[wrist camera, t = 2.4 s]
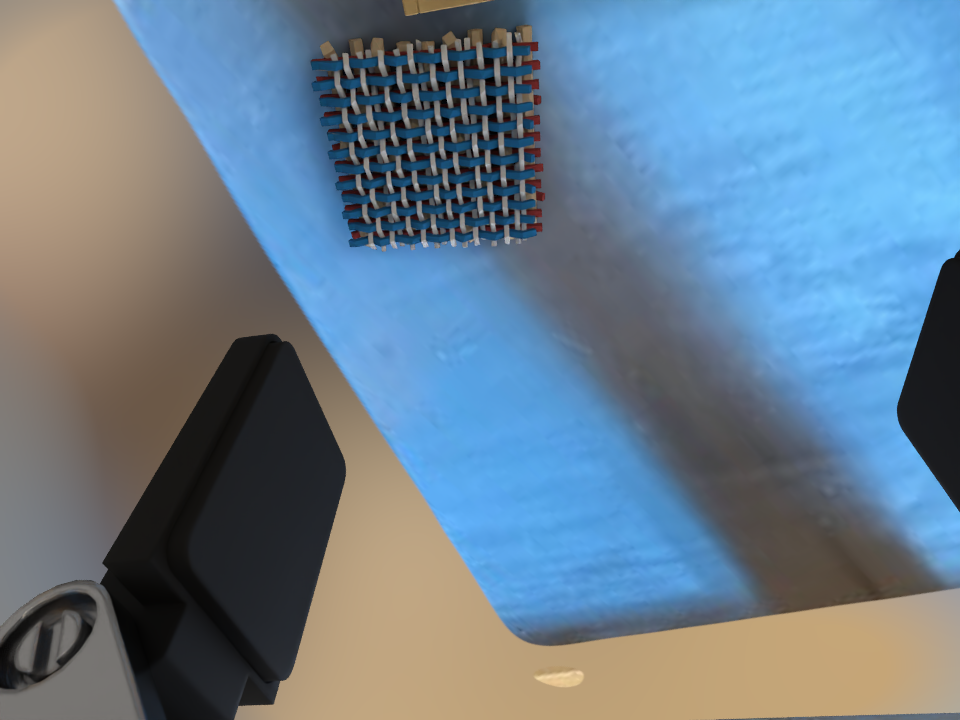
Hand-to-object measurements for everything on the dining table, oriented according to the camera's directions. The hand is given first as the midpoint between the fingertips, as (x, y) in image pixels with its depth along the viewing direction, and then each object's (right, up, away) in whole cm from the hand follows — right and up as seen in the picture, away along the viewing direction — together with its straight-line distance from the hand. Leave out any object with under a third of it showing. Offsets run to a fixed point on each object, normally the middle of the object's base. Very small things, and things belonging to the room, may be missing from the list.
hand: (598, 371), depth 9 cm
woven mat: (-4, +11, +22) cm, 25 cm away
